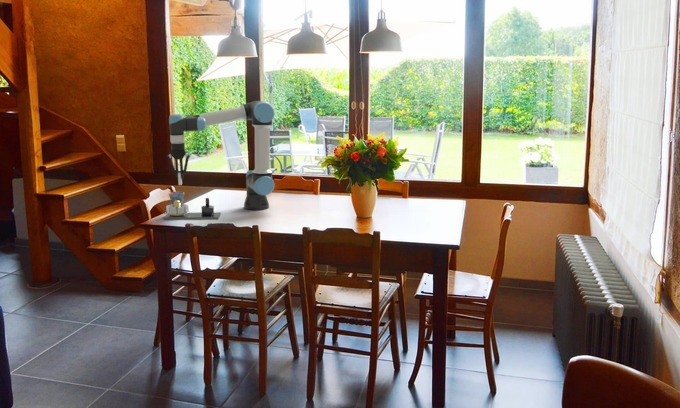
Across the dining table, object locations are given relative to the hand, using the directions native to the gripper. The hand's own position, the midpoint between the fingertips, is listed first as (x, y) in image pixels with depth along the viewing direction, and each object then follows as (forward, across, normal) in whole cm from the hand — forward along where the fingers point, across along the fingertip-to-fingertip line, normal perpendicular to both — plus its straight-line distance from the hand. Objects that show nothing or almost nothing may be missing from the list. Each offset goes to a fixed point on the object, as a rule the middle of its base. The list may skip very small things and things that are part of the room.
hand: (180, 184), depth 378 cm
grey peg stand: (+19, -6, -1) cm, 20 cm away
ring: (+16, +3, -2) cm, 16 cm away
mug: (+19, +6, -22) cm, 29 cm away
